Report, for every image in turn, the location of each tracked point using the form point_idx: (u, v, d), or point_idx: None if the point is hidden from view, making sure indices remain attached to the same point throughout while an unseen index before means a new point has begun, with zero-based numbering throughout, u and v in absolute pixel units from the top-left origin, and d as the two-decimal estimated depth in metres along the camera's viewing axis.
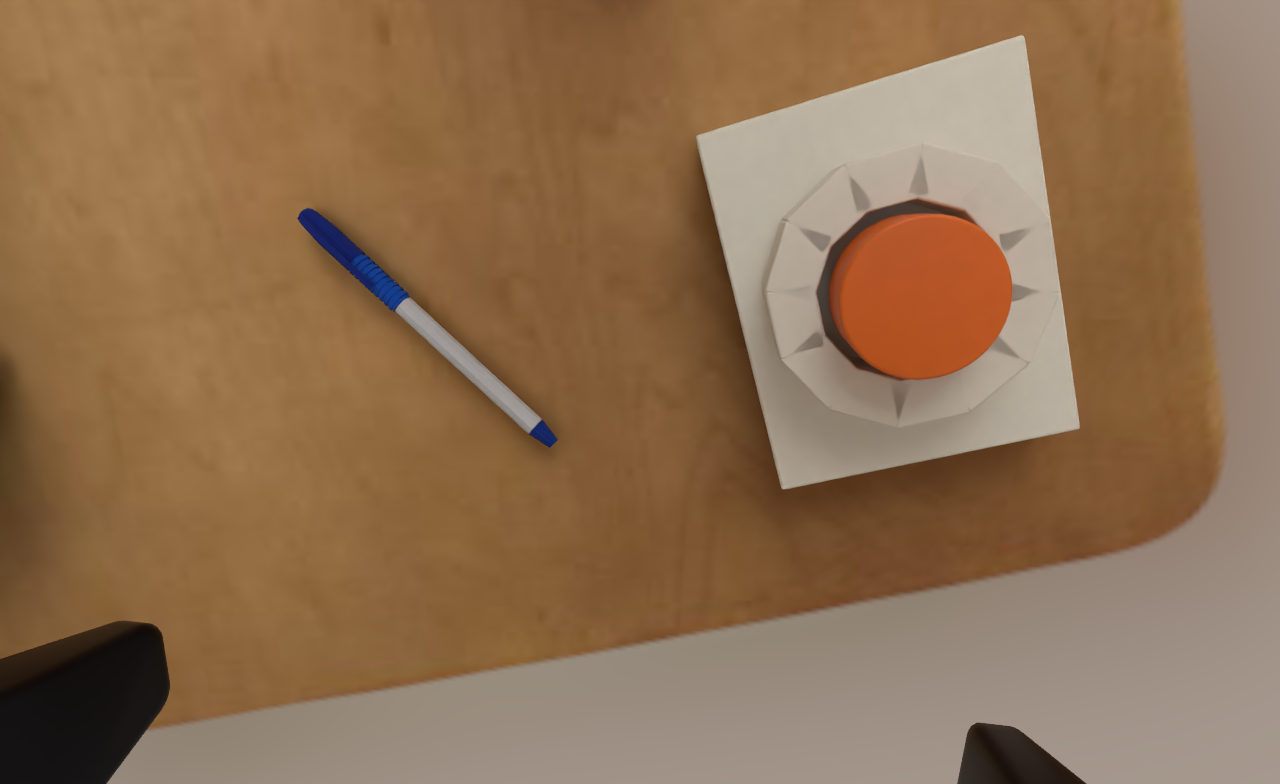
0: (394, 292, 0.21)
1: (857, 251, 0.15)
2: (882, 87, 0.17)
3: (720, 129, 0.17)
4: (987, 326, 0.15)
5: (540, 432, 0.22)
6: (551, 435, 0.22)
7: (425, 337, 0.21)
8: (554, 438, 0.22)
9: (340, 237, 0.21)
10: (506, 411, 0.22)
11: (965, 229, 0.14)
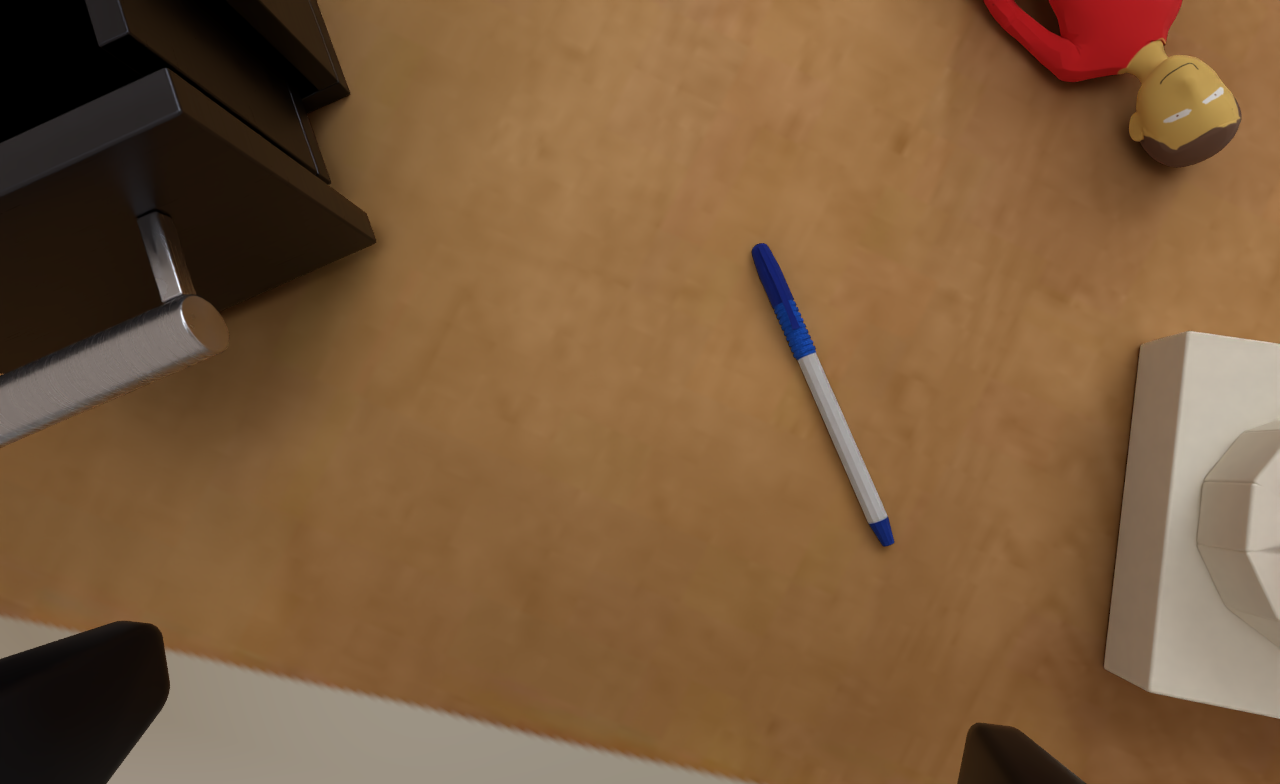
0: (809, 343, 0.22)
1: None
2: None
3: (1212, 335, 0.19)
4: None
5: (884, 527, 0.21)
6: (892, 535, 0.21)
7: (816, 393, 0.22)
8: (893, 539, 0.21)
9: (783, 278, 0.22)
10: (861, 492, 0.21)
11: None
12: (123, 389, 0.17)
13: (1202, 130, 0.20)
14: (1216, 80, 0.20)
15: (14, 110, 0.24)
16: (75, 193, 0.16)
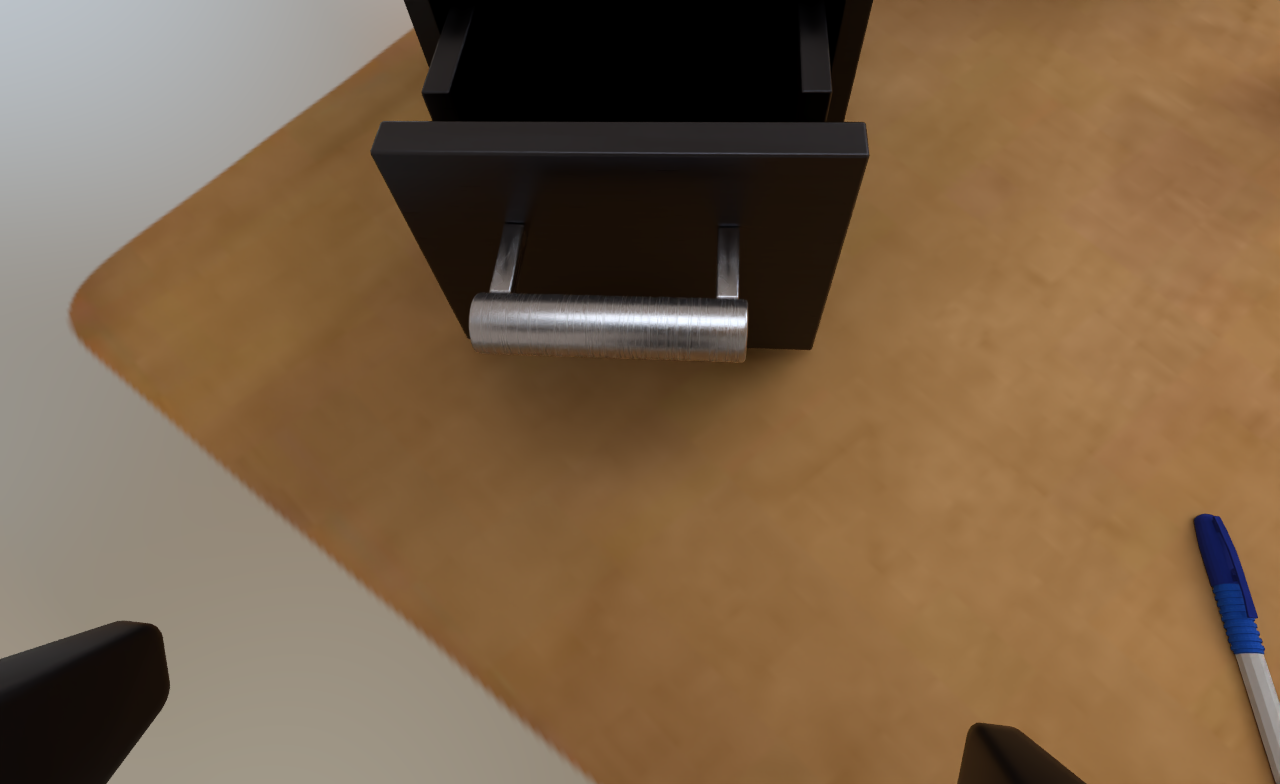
0: (1260, 640, 0.19)
1: None
2: None
3: None
4: None
5: None
6: None
7: (1262, 701, 0.19)
8: None
9: None
10: None
11: None
12: (644, 352, 0.17)
13: None
14: None
15: None
16: (719, 181, 0.17)
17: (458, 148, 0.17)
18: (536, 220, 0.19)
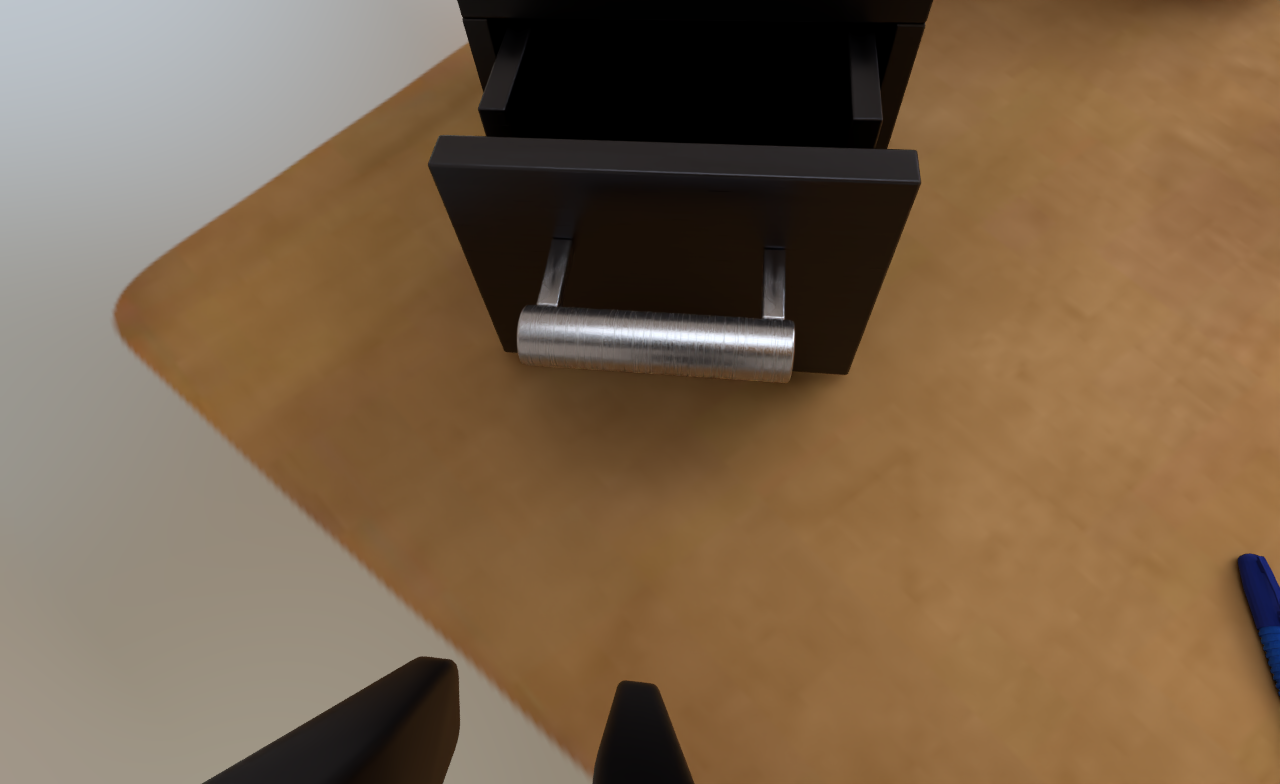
0: None
1: None
2: None
3: None
4: None
5: None
6: None
7: None
8: None
9: None
10: None
11: None
12: (690, 369, 0.17)
13: None
14: None
15: None
16: (769, 203, 0.17)
17: (514, 163, 0.18)
18: (584, 236, 0.19)
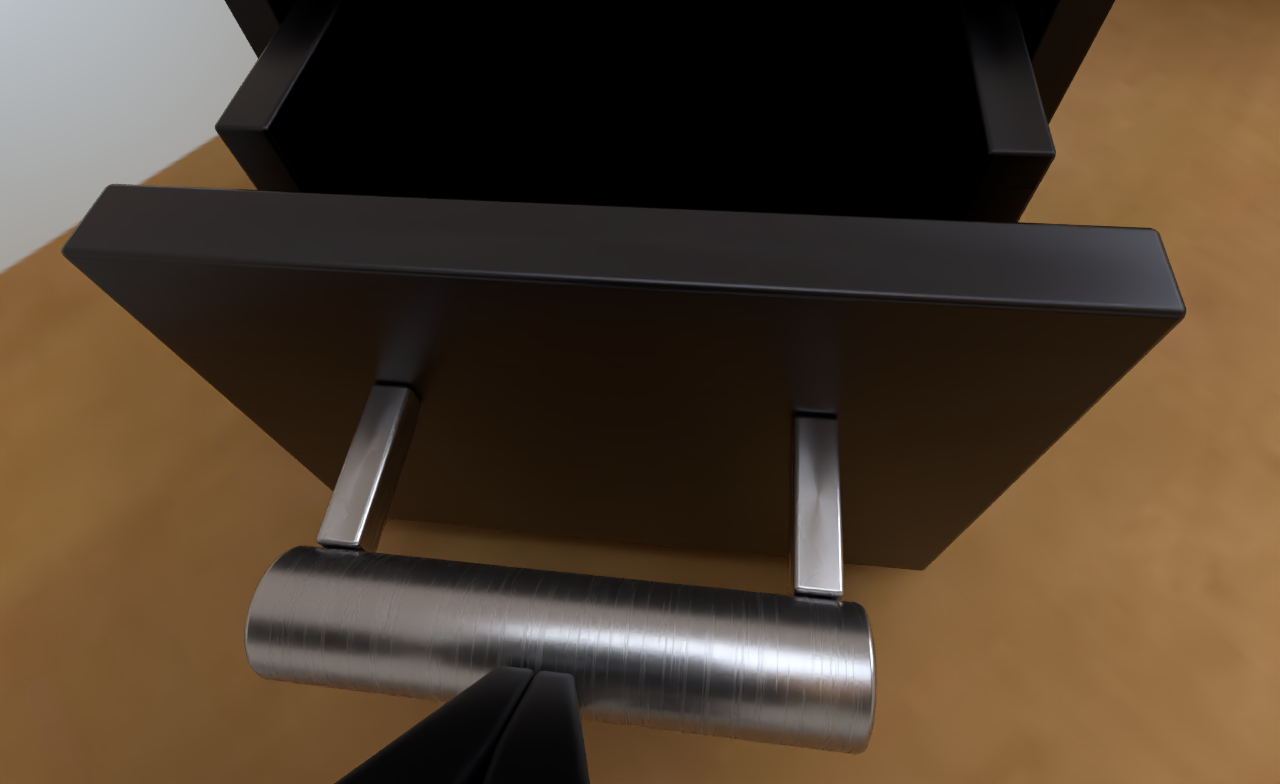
0: None
1: None
2: None
3: None
4: None
5: None
6: None
7: None
8: None
9: None
10: None
11: None
12: (632, 724, 0.08)
13: None
14: None
15: (523, 190, 0.19)
16: (812, 343, 0.08)
17: (244, 251, 0.08)
18: (433, 382, 0.10)
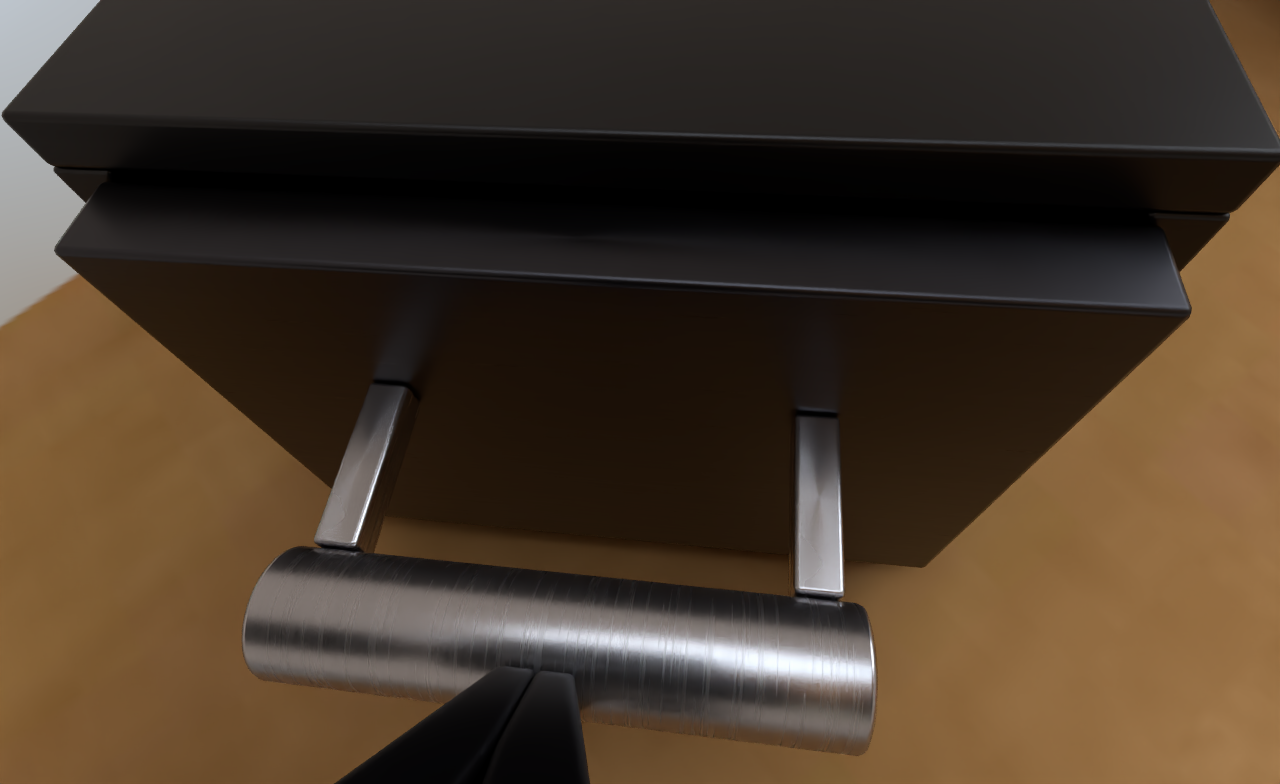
0: None
1: None
2: None
3: None
4: None
5: None
6: None
7: None
8: None
9: None
10: None
11: None
12: (631, 725, 0.08)
13: None
14: None
15: None
16: (813, 343, 0.08)
17: (238, 249, 0.08)
18: (431, 380, 0.10)
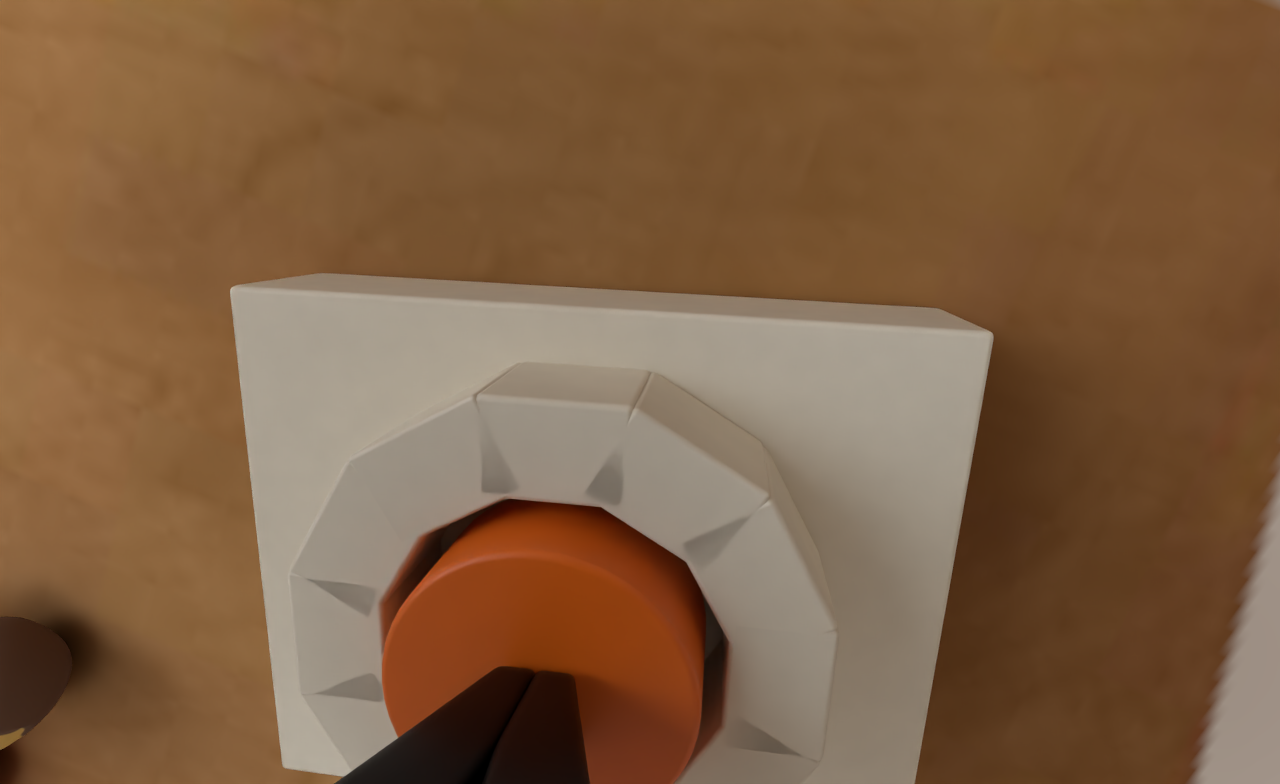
0: None
1: None
2: (265, 512, 0.10)
3: (279, 736, 0.11)
4: (620, 619, 0.07)
5: None
6: None
7: None
8: None
9: None
10: None
11: (421, 608, 0.07)
12: None
13: None
14: None
15: None
16: None
17: None
18: None
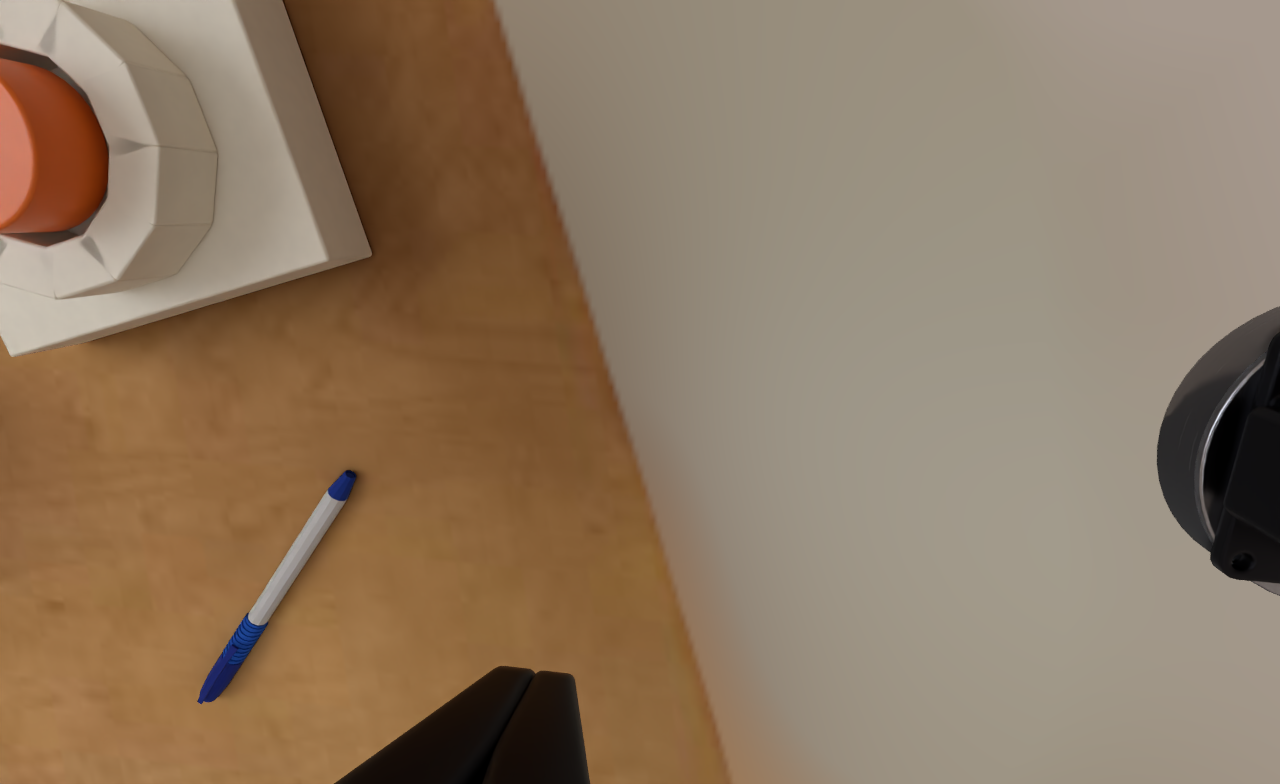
0: (242, 625, 0.22)
1: None
2: None
3: (0, 334, 0.19)
4: None
5: (336, 489, 0.20)
6: (339, 477, 0.21)
7: (276, 599, 0.22)
8: (343, 474, 0.21)
9: (212, 668, 0.23)
10: (323, 523, 0.21)
11: None
12: None
13: None
14: None
15: None
16: None
17: None
18: None
